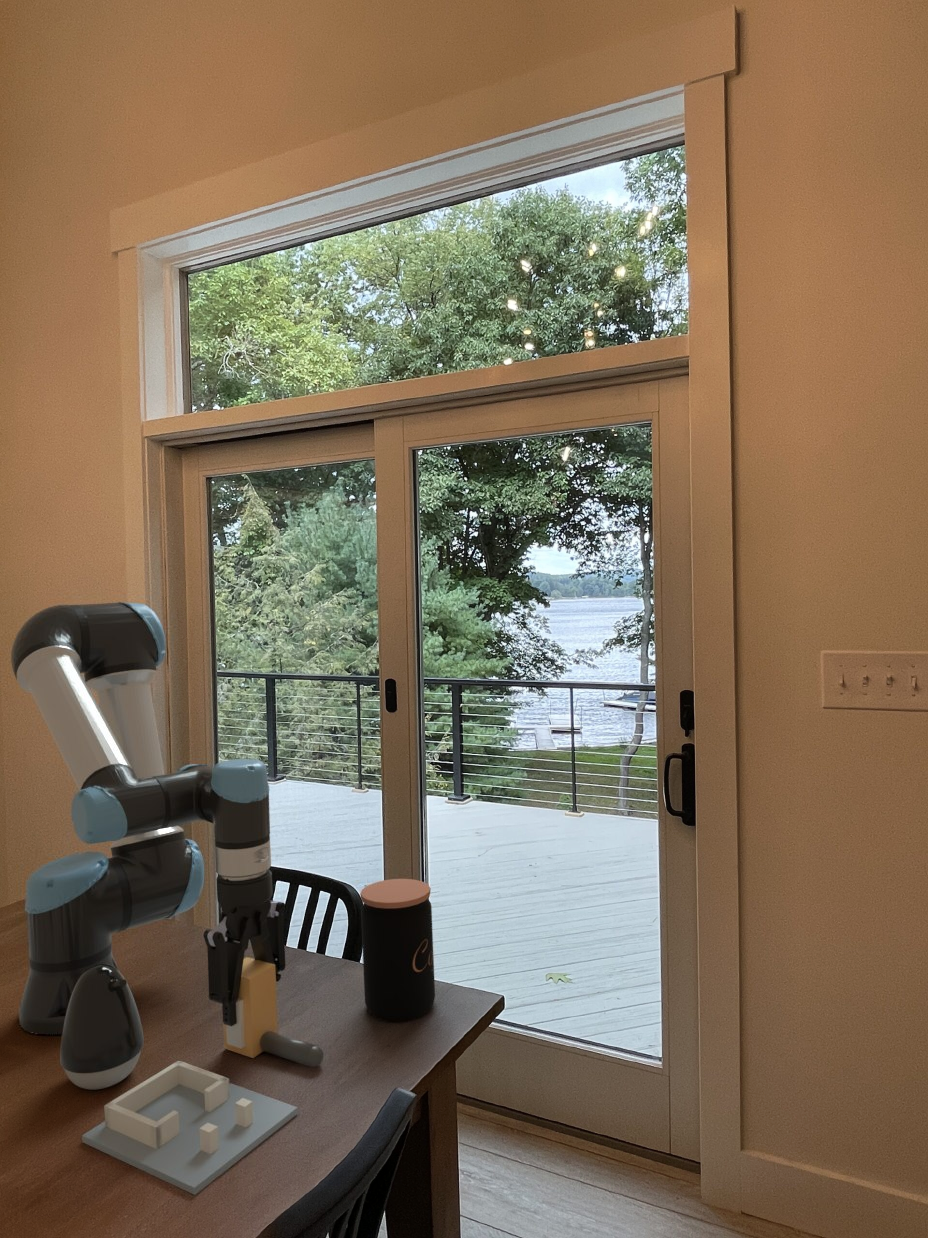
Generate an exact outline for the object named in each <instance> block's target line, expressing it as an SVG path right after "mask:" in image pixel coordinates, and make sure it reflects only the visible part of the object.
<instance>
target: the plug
mask: <svg viewBox="0 0 928 1238" xmlns="http://www.w3.org/2000/svg"><path fill="white" fill-rule="evenodd" d="M229 992H230V991H229ZM277 995H278V994H277V982H276V970H275V964H271V963H267V962H264V961H260V960H256V959H255V958H252V957H248V956H246V957H244V960H243V967H242V975H241V982H240V989H239V996H238V998H239V999H243V1010H244V1033H245V1046H244V1047H243V1048H238V1047H235V1046H232V1045H229V1044H227V1032H226V1025H225V1024H224V1022H223V1021H222V1026H223V1027H222V1028H223V1048H224V1049H226V1050H228V1051H232V1052H233V1053H237V1054H240V1055H243V1056H245V1057H248V1058H252V1059H254V1058H256V1057H257V1056H258V1055H260V1054H261V1053H263V1052H267V1053H269V1054H271V1055H275V1056H278V1057H280V1058H282V1059H283V1058H284V1059H287V1060H290V1061H292V1062H296V1063H298V1064H301V1065H305V1066H308V1067H310V1068H316V1067H318V1066H319V1065H321V1063H322V1062H323V1061H324V1051H323V1048H321V1047H320V1046H319V1045H317V1044H313V1043H309V1042H307V1041H304V1040H301V1039H298V1038H295V1037H291V1036H288V1035H285V1034H282V1033H279V1024H278V1023H279V1020H278V1017H279V1016H278V1000H277V999H278V998H277Z"/></svg>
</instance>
